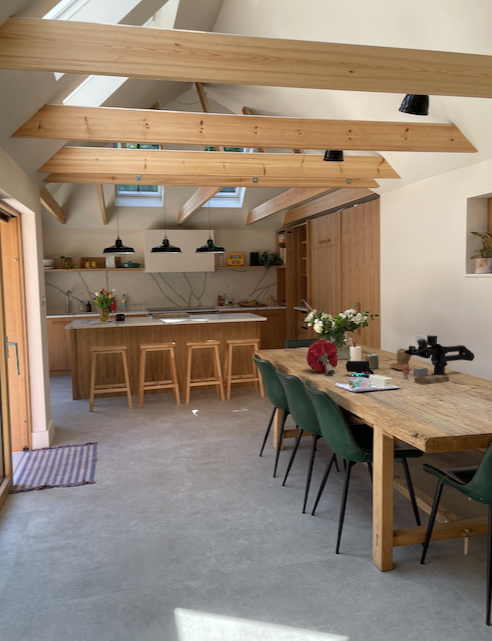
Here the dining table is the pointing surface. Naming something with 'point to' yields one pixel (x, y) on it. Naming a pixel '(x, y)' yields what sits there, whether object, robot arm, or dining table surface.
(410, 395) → the dining table surface
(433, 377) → the beam
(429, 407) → the dining table surface
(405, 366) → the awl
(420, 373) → the stud finder
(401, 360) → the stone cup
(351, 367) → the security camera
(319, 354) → the bouquet
